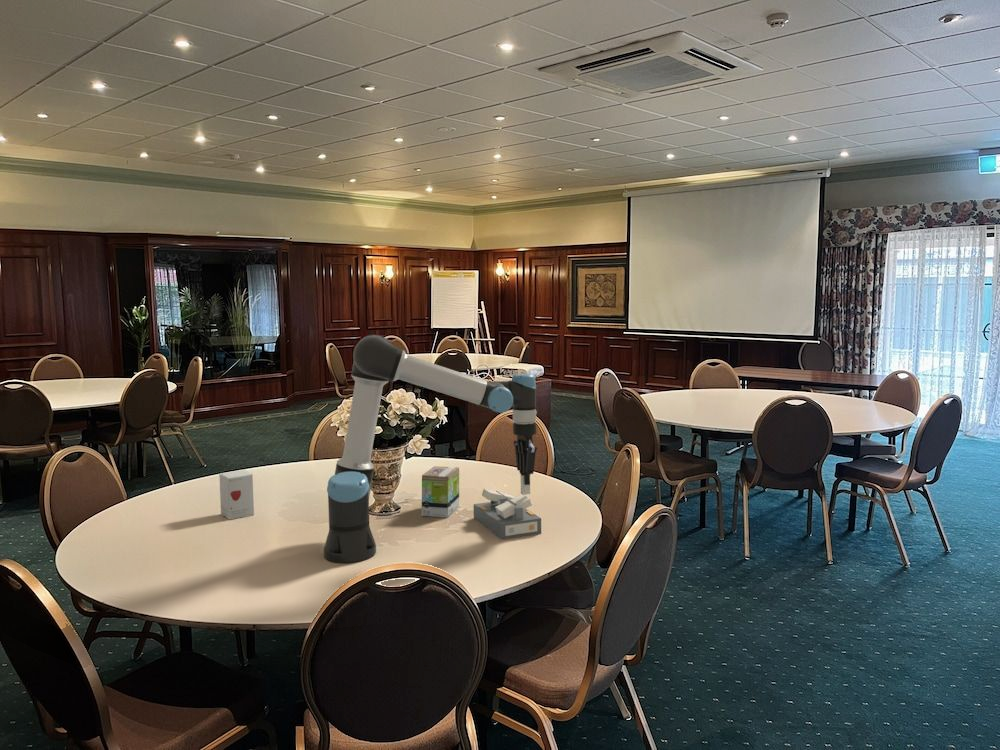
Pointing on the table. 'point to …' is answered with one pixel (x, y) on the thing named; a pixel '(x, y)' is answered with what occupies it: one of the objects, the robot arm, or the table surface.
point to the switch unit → (507, 520)
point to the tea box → (440, 491)
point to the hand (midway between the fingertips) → (525, 493)
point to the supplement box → (236, 494)
